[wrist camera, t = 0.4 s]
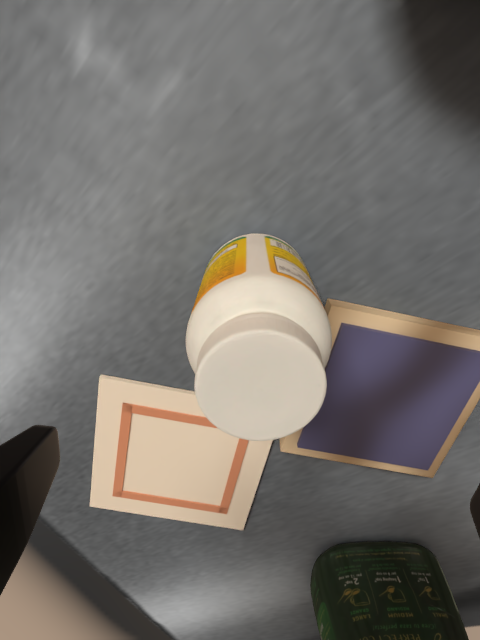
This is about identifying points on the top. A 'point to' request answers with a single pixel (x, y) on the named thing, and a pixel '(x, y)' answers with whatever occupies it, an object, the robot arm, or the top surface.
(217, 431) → the print card
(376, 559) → the coffee jar
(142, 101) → the top surface
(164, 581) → the top surface
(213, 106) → the top surface
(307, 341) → the supplement bottle
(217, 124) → the top surface
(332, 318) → the ink pad
